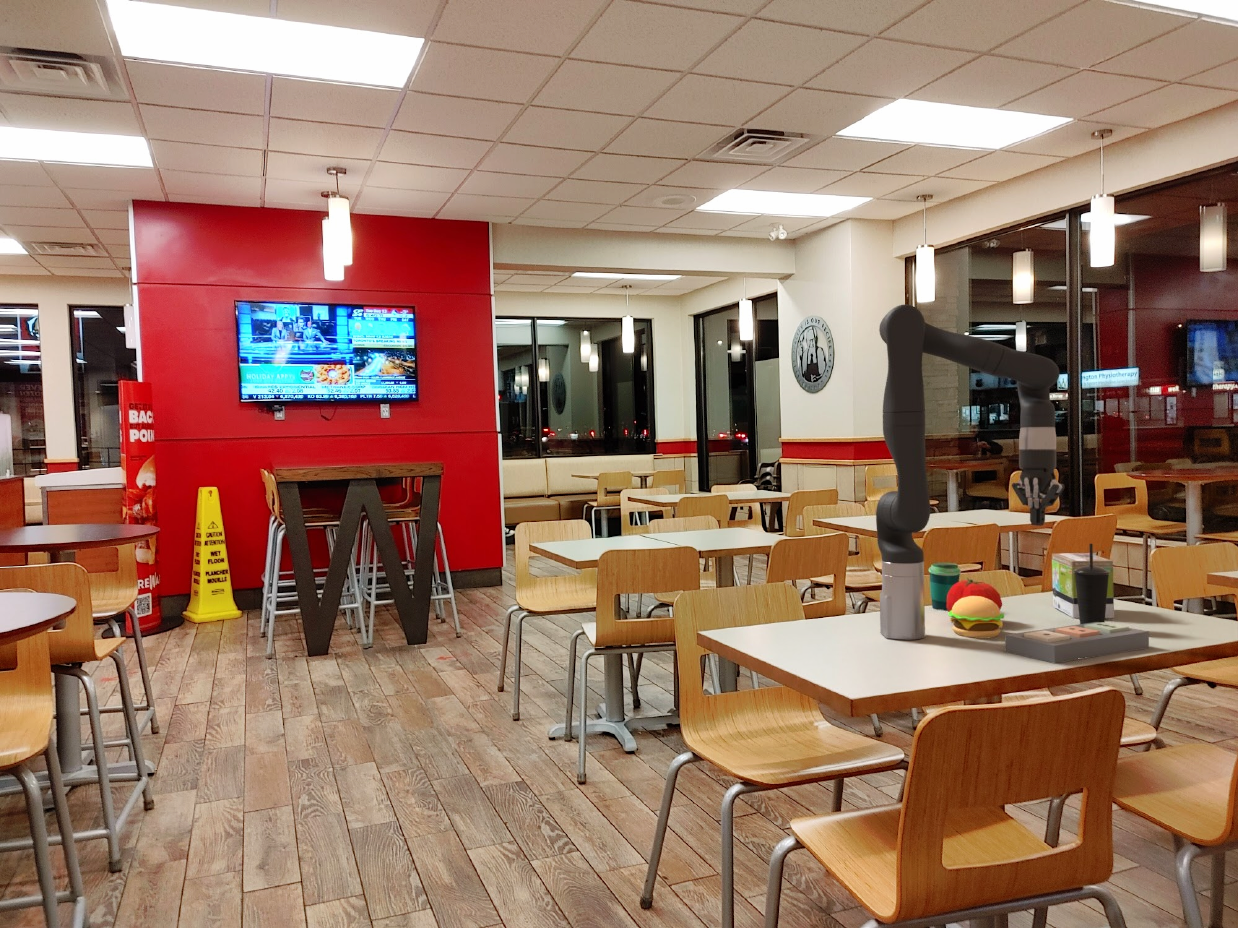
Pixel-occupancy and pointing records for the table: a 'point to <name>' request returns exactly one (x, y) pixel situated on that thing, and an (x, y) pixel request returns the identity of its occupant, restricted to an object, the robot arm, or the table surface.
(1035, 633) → the cream tile
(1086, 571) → the drinking cup
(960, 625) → the hamburger
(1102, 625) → the sage tile
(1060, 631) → the terracotta tile
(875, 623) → the table surface
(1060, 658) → the console
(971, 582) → the tomato
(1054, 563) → the tea box
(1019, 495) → the robot arm
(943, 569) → the cup
